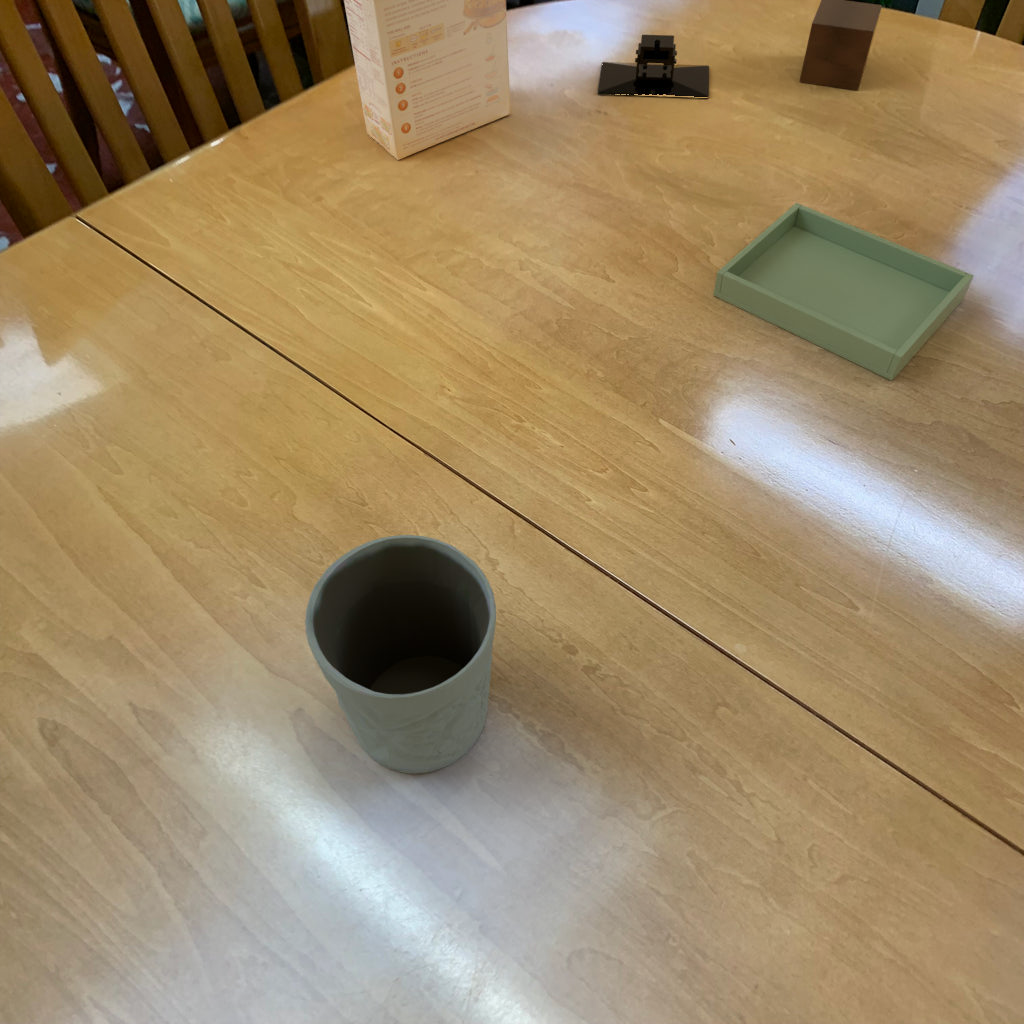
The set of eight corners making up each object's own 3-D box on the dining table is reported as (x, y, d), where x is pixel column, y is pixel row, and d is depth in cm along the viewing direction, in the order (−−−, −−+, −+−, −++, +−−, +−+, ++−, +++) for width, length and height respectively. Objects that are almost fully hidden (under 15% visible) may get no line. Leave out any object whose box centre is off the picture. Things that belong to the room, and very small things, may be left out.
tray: (963, 299, 81) (974, 275, 79) (891, 381, 75) (901, 357, 73) (790, 226, 88) (796, 202, 86) (712, 295, 82) (717, 271, 80)
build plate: (597, 96, 104) (598, 54, 101) (602, 64, 109) (603, 23, 105) (708, 99, 103) (714, 57, 99) (709, 67, 107) (714, 25, 104)
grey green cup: (347, 646, 61) (310, 539, 52) (499, 634, 62) (490, 526, 52) (340, 795, 55) (297, 704, 46) (509, 781, 55) (501, 688, 46)
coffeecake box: (477, 90, 106) (464, -104, 91) (513, 115, 102) (506, -83, 87) (363, 134, 101) (330, -64, 85) (397, 162, 97) (368, -39, 82)
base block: (866, 63, 107) (882, 4, 102) (857, 91, 103) (874, 31, 98) (809, 55, 108) (822, -3, 103) (799, 82, 105) (811, 23, 100)
